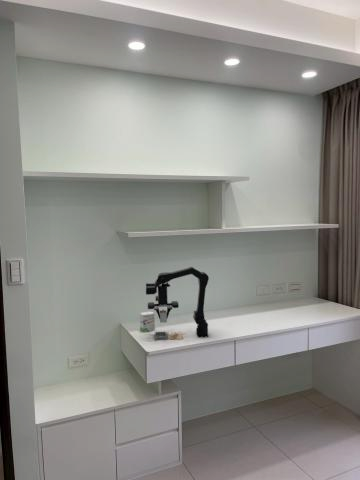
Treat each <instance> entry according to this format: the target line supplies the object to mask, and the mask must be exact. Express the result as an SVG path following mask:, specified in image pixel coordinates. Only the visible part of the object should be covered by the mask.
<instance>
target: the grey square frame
mask: <svg viewBox="0 0 360 480" xmlns="http://www.w3.org/2000/svg"><path fill="white" fill-rule="evenodd" d="M153 339H154V341H169V339H168V333H166V331H155V333H154V334H153Z"/></svg>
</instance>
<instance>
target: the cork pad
mask: <svg viewBox="0 0 360 480" xmlns="http://www.w3.org/2000/svg"><path fill="white" fill-rule="evenodd" d="M167 337H168V341H169V340H184V336H183V333H167Z"/></svg>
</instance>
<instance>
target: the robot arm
mask: <svg viewBox="0 0 360 480" xmlns="http://www.w3.org/2000/svg"><path fill="white" fill-rule="evenodd" d="M189 275H192V276H194V277H195V278H197V281H198V295H197V305H196V310H193V316H192V318H193V320H194V323H195V324H196V326H197V327H196V328H195V330H196V331H195V333H196V336H197V337H198V338H209V324H208V322H207V320H206V319H205V312H204V309H205V307H204V306H205V297H206V288H207V285H208V283H209V280H210V279H209V275H208V274H207V273H206V272H204V271H200V270H198V269H196V268H194V267H193V266H190V267H187V268H183V269H179V270H175V271H172V272H169V271H168V272H160V273H158V275H157V277H156V280H155V281H154V283H148V282H147V283H145V295H146V296H147V295H155V294H157V295H155V296H154V297H155V302H157V303H155V302H152V301H149V302H148V303H147V310H154V311H155V312H156V314H157V316H158V319H159V320H160V308H159V307H161V308H163V307H166V312H167V319H168V318H169V314H170V312H171V310H173V309H178V308H179V307H180V306H179V302H178V301H177V300H176V301H174V300H173V301H172V300H171V302H169V301H168V288H170V287H171V284H169V282H170V281H172V280H174V279H178V278H183V277H186V276H189Z"/></svg>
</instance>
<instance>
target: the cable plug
mask: <svg viewBox="0 0 360 480" xmlns="http://www.w3.org/2000/svg"><path fill="white" fill-rule="evenodd" d="M159 313H160V319H159V323H161V324H162V323H168V318H167V309H166V310H165V309H161V310H159Z"/></svg>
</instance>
